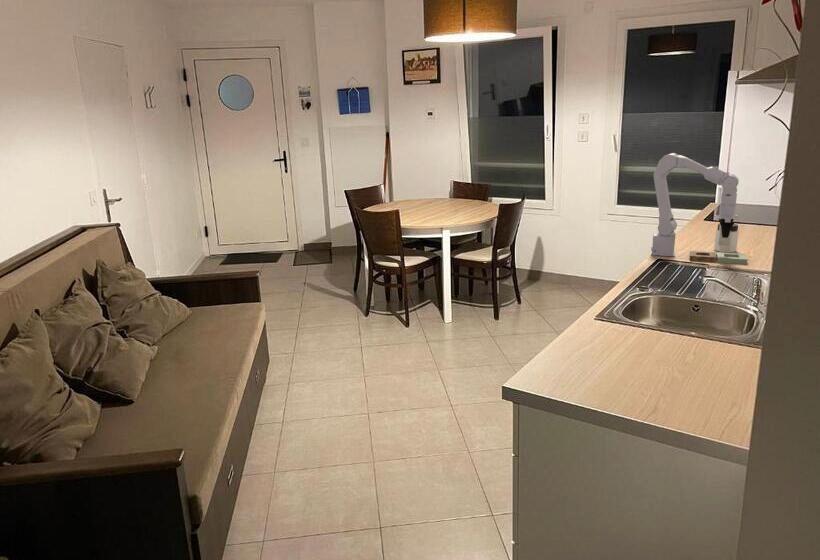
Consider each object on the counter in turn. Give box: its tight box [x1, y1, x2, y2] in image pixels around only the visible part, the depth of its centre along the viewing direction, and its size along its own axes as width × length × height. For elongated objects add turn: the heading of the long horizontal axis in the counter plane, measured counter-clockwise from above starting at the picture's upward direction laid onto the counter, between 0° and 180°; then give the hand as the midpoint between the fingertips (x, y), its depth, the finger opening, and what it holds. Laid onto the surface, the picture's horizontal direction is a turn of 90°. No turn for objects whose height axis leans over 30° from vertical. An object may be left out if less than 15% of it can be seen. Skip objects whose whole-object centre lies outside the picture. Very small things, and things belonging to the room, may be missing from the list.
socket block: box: [689, 250, 717, 263], centre depth 263 cm, size 10×10×2 cm
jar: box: [713, 222, 739, 253], centre depth 275 cm, size 9×8×12 cm
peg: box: [718, 225, 731, 246], centre depth 258 cm, size 4×4×8 cm
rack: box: [715, 251, 748, 265], centre depth 259 cm, size 11×11×2 cm
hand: (724, 236), depth 258 cm, fingers closed on peg, 4 cm apart
